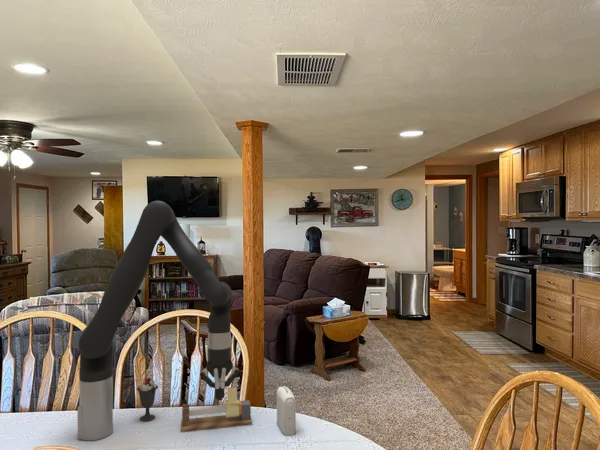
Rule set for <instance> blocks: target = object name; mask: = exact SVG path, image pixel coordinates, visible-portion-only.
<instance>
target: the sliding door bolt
mask: <svg viewBox="0 0 600 450" xmlns="http://www.w3.org/2000/svg"><path fill="white" fill-rule="evenodd" d="M238 401H239V414H241V419H242V420H250V419H252V417H251V413H252V412H251V401H250V400H249V399H248V400H238ZM215 414H217V415H218V414H226V404H220V405H209V406H208V405H207V406H200V407H199V406H198V407H189V417H194V416H195V417H197V416H203V415H204V416H206V415H215Z"/></svg>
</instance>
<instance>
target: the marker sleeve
mask: <svg viewBox="0 0 600 450" xmlns="http://www.w3.org/2000/svg"><path fill="white" fill-rule="evenodd" d="M226 391H227V394H226V395H227V396H226V397H227V399H225V405H226V413H225V415H226V417H236V416H239V401H240V400H239V399H238V387H237V386H235V387H234V386H232V387H227V390H226Z"/></svg>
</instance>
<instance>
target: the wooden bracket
mask: <svg viewBox="0 0 600 450" xmlns="http://www.w3.org/2000/svg"><path fill="white" fill-rule="evenodd" d="M189 408H190V403H185V404H184V403H183V404H182V409H181V411H182V412H181V413H182V414H181V416H182V417H181V418H182V419H181V422H180V433H185V432H186V433H187V432H188V433H189V432H197V431H205V430H215V429H223V428H224V429H225V428H233V427H235V428H236V427H245V426H252V425H253V419H252V418H251V419H250V420H242V419H241V414H239V416H236V417H226V414H223V415H221V414H220V415H213V416H204V417H203V416H201V417H194V418H190V416H189Z"/></svg>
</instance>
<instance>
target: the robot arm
mask: <svg viewBox="0 0 600 450" xmlns="http://www.w3.org/2000/svg"><path fill="white" fill-rule="evenodd" d="M161 237H162V239H164V240H165V242H167V244H168V245H169V246H170V247H171V249H172V250H173V252H174V253H175V255H176V257H177V259H178V260H179V262H180V263H181V265H182V266H183V268H184V269H185V270H186V271H187V273H188V274H189V276H190V277H191V278H192V279H193V280H194V281H195V283H196V285H197V286H198V288H199V291H200V292H201V294H202V296H203V297H204V298H205V300H206V302H207V303H209V304H210V312H209V315H208V319H207V321H208V323H207V325H208V327H207V331H208V332H207V333H208V334H207V343H206V344H207V363H206V365H205V368H204V369H202V370H200V371H199V376H200V377H201V379H202V380H204V382H205V383H206V384H207V385H208V386H209V388H213V389H214V395H215V396H214V398H215V399H217V401H222V400H223V399H224V398H225V388H226V387H230V385H232V383H233V382H234V380H235V379H236V377H238V375H239V373H240V369H239V367H236V366H235V365H234V363H233V361H232V335H231V311H232V309H231V308H232V302H233V301H232V298H233V296H232V295H233V294H232V293H233V292H232V288H231V286H230V285H229V284H228V283H226V282H224V281H220V279H219V278H218V276H217V275H216V274H215V269H214V268H213V266H212V265H211V263H210V262H209V261H208V259H207V258H206V257H205V256H204V254H203V253H202V252H201V251H200V250H199V249H198V247H197V246H196V245H195V244H194V242H193V241H191V239H190V238H189V237H188V235H187V234H186V233H185V231H184V229H183V228H182V226H181V225H180V222H179V221H178V219H177V217H176V214H175V212H174V210H173V209H172V207H171V206H170V205H169V204H168V203H166V202H165V201H162V200H153V201H151V202H148V204H146V206H145V207H144V208H143V210H142V212H141V214H140V217H139V220H138V223H137V225H136V228H135V231H134V232H133V235H132V238H131V239H130V242H129V243H128V245H127V246H126V248H125V250H124V251H123V253H122V255H121V257H120V258H119V260H118V262H117V264H116V266H115V268H114V269H113V271H112V273H111V275H110V278H109V280H108V282H107V284H106V287H105V289H104V292H103V295H102V298H101V301H100V303H99V307H98V308H97V310H96V312H95V314H94V316H93V318H92V319H91V321H90V322H89V324H88V325H87V326H86V327H84V328H83V330H82V331H81V332H80V333H81V334H80V336H79V338H78V343H77V345H78V346H77V347H78V350H79V369H78V370H79V371H78V373H79V374H78V378H79V379H78V380H79V387H78V388H79V405H78V406H77V408H76V409H77V440H79V441H80V440H82V441H97V440H102V439H104V438H106V437H108V436H110V435H111V434H113V432H114V422H113V421H114V412H113V411H114V409H113V408H114V407H113V405H114V403H113V402H114V401H113V399H114V398H113V397H114V396H113V395H114V394H113V392H114V390H113V389H114V388H113V383H114V382H113V381H114V380H113V367H114V366H113V365H114V363H113V361H114V359H113V357H114V356H113V354H114V353H113V348H114V347H113V346H114V345H113V344H114V343H113V341H114V338H115V335H116V333H117V330H118V328H119V325H120V322H121V321H122V318H123V317H124V315H125V313H126V311H127V310H128V308H129V307H130V306H131V304H132V301H133V300H134V299H135V297H136V296H137V294H138V292H139V290H140V288H141V286H142V284H143V282H144V280H145V278H146V275H147V273H148V271H149V267H150V263H151V261H152V260H151V259H152V256H153V252H154V249H155V246H156V244H157V242H158V241H159V240H160V238H161ZM230 372H231V374H230ZM208 374H210V375H211V377H213V378H214V381H213V380H212V379H211V378H210V377H209V375H208ZM228 375H229V376H228ZM227 376H228V377H227ZM226 377H227V379H226ZM219 378H220V379H219ZM219 381H220V382H219Z"/></svg>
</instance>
